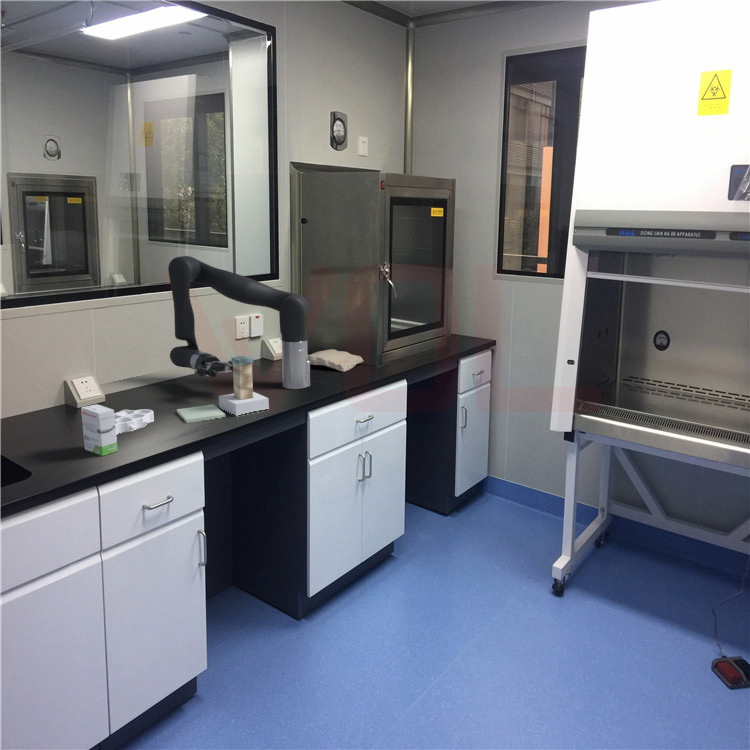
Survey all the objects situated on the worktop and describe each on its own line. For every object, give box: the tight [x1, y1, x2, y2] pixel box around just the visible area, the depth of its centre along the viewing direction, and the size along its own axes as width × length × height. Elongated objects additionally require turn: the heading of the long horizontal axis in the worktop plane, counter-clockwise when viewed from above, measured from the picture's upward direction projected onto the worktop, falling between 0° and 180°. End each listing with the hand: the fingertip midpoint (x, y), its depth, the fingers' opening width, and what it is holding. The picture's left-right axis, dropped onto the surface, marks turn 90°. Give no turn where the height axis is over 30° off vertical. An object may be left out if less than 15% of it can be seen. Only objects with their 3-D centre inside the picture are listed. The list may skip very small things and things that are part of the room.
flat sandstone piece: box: [308, 348, 364, 373], centre depth 278 cm, size 24×8×20 cm
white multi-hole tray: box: [114, 408, 155, 436], centre depth 199 cm, size 3×18×15 cm
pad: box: [176, 404, 226, 424], centre depth 210 cm, size 12×12×1 cm
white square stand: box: [218, 391, 270, 417], centre depth 217 cm, size 12×12×4 cm
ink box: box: [80, 403, 119, 457], centre depth 177 cm, size 9×5×12 cm, turn 53°
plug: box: [230, 355, 254, 400], centre depth 215 cm, size 5×5×17 cm
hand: (226, 372), depth 223 cm, fingers open, 8 cm apart
